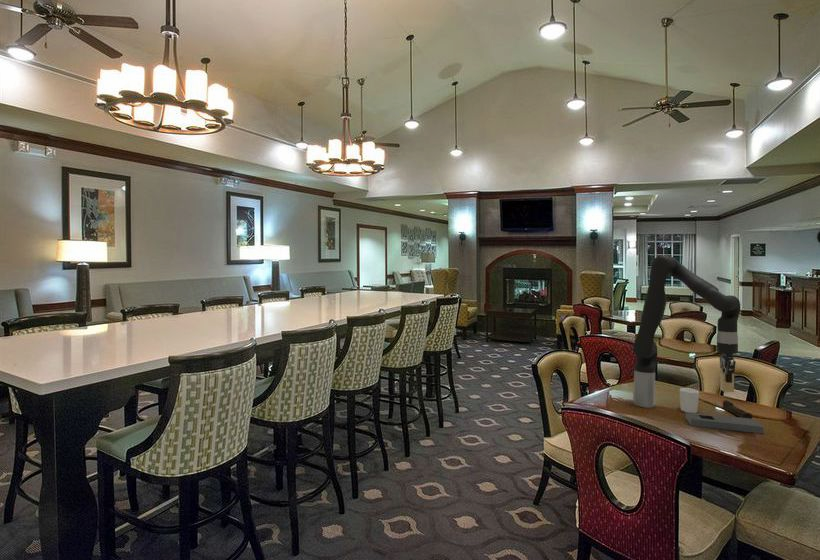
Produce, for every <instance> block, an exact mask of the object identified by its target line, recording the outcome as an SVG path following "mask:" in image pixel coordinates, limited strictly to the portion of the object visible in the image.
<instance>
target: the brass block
mask: <svg viewBox="0 0 820 560" xmlns="http://www.w3.org/2000/svg"><path fill="white" fill-rule="evenodd" d="M719 372H720V373H719V374H720V375H719V379H720V382H719V388H720V389H719V390H721V391H722V392H724V393H735V373H734V374H732V383H727V382H726V373H725V371H722V370H721V371H719Z"/></svg>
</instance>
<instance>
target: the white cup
mask: <svg viewBox="0 0 820 560" xmlns="http://www.w3.org/2000/svg"><path fill="white" fill-rule="evenodd" d="M699 396H700V391H699V390H697V389H694V388H689V387H688V388H687V387H682V388H679V402H680V403H679V404H680V410H681V411H682V412H685V413H686V412H691V413H698V405H699V399H700V397H699Z"/></svg>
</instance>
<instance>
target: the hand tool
mask: <svg viewBox="0 0 820 560" xmlns="http://www.w3.org/2000/svg"><path fill="white" fill-rule="evenodd" d="M722 408H723V409H724V410H725V411H726V412H727V411H729V413H731V414H733V415H735V416H736V417H739V418H749V419H753V414H751V413H750V412H747V411H745V410H743V409H740V408H739V407H737V406H736V405H734V403H733V402H731V401H728V400H727V399H725V400H723V401H722Z"/></svg>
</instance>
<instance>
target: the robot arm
mask: <svg viewBox="0 0 820 560" xmlns="http://www.w3.org/2000/svg"><path fill="white" fill-rule="evenodd" d="M668 276H670V277H672V278H674V279H677V280H678V281H680V282H682V283H683V284H684V285H685V286H686V287H687V288H688V289H689V290H690V291H691V292H693V293H694V294H695V295H697V296H699V297H701V298H702V299H703V300H705V301H707V303H708V304H709V305H710V306H712V307H713V308H714V309H715V310H717V311H719V312H721V314H720V315H721V316H720V317H719V318H718V320H717V327H716V328H717V332H716V352H717V353H720V354H721V355H719V367H720V369H721V371H725V373H726V382H727V383H732V374H734V375H735V372H736V371H735V369H736V364H737V362H736V360H735V359H734V358H735V357H733V355H735V354H736V355H737V354H738V353H739V336H738V334H739V333H738V321H739V317H740V316H739V315H740V313H741V301H740V300H739V298H738V297H737V296H734V295H732V294H731V295H725V294H723V293H722V292H720V290H719V288H718V287H716V286H715V285H714V284H712V283H710V282H709V281H708V280H705V279H704V278H702V277H700V276H699V275H697V274H695V273H694V272H693V271H691V270H689V269H688V268H687V267H686V266H685V265H684V264H682V263H681V262H680V261H679V260H677V259H676V257H674V256H670V255H661V254H660V255H658V256H656V257H655V258H654V259H653V260H652V262H651V266H650V275H649V282H648V287H647V289H646V290H647V291H646V295H645V300H644V304H643V307H642V312H641V316H640V317H641V318H640V321H639V328H638V331H637V333H636V337H635V340H634V343H633V345H632V351H633V353H634V355H635V356H636V361H635V363H634V367H633V368H634V372H633V373H634V374H633V375H634V376H633V384H632V387H633V388H632V390H633V391H632V394H633V395H632V403H633V406H635V407H639V408H640V407H641V408H647V409H648V408H649V409H650V408H654V407H655V394H656V392H655V391H656V368H657V365H658V364H657V363H658V345H657V343H656V342H655V341H654V339H655V335H656V331H657V330H658V327H659V326H660V324H661V322H662V319H663V317H664V314H665V310H666V307H667V296H666V291H665V290H666V289H665V286H666V280H667V277H668Z"/></svg>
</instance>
